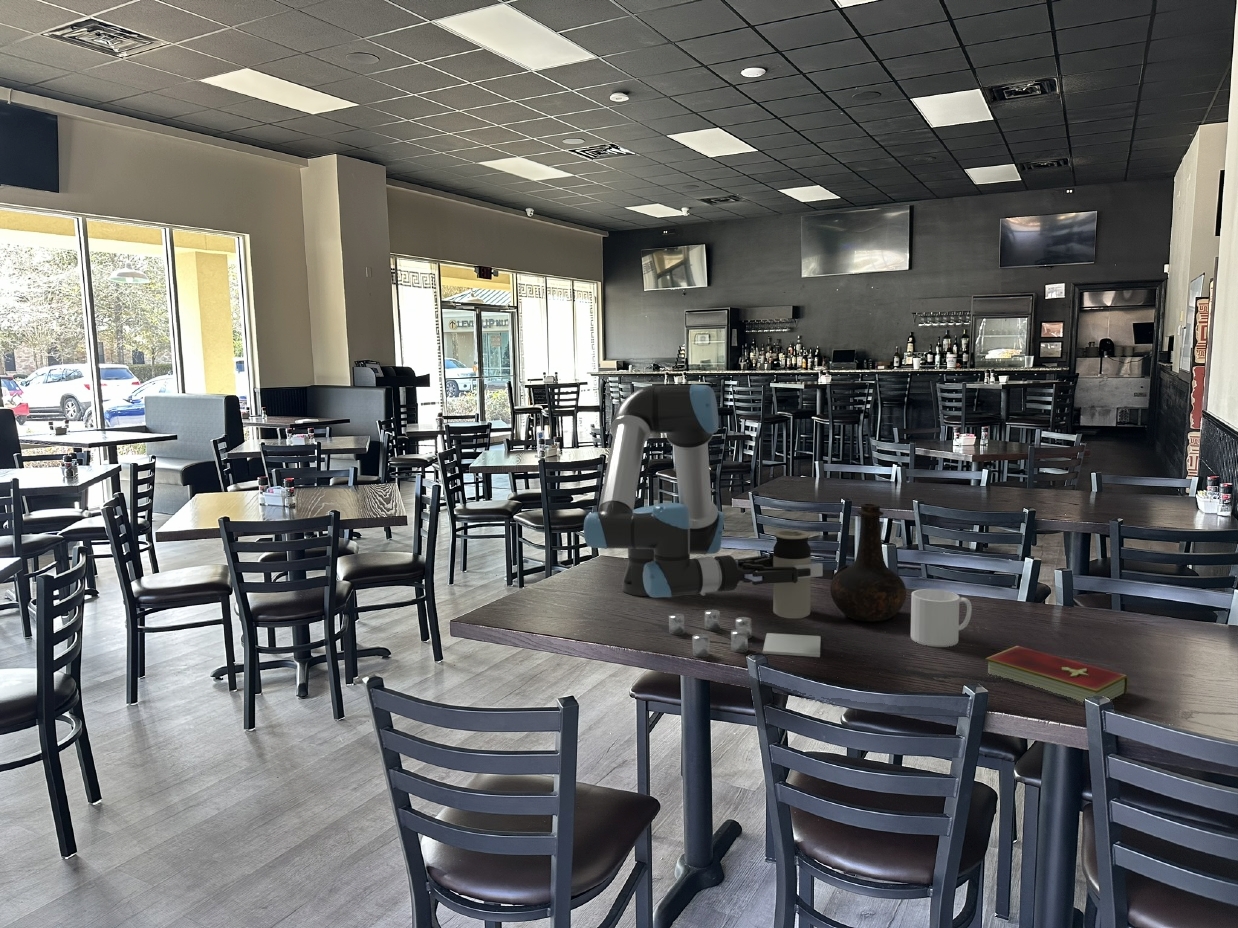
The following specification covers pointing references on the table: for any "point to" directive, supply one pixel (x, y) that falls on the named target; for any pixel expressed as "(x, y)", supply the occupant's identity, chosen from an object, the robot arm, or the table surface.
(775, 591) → the travel mug
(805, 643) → the rubber mat
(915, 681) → the table surface
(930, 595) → the mug
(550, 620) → the table surface
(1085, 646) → the table surface
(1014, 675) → the hardcover book
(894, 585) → the glass bottle
